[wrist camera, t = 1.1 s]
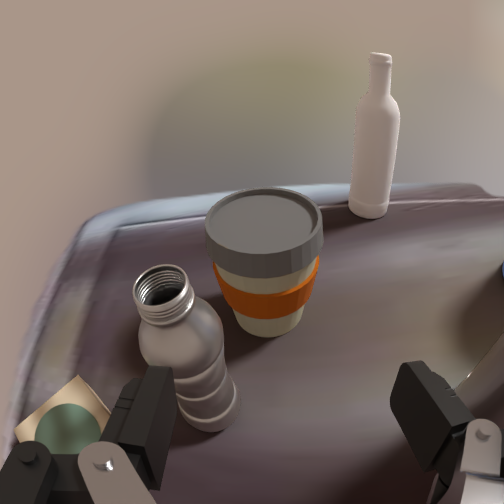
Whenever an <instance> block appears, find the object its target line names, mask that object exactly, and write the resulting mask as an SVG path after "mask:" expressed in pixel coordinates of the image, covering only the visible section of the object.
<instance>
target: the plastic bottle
mask: <svg viewBox="0 0 504 504" xmlns="http://www.w3.org/2000/svg"><path fill="white" fill-rule="evenodd" d="M132 294H133V298H134V301H135V303H136V305H137V307H138V312H139V314H140V316H141V318H142V321H141V324H140V327H139V333H138V337H139V346H140V351H141V354H142V356H143V358H144V359H145V361H146V362H147V363H148V365H149V366H150V365H154V366H165V367H171V368H172V370H173V376H174V384H175V391H176V398H177V401H178V406H179V409H180V411H181V414H182V416H183V418H184V419H185V420H186V421H187V422H188V423H189V424H190V425H192V426H193V427H195V428H197V429H199V430H201V431H205V432H217V431H221V430H223V429H225V428H227V427H228V426H230V425H231V424H232V423H233V422H234V421H235V420H236V418H237V416H238V414H239V411H240V405H241V396H240V392H239V389H238V387H237V386H236V384H235V382H234V381H233V379H232V378H231V377H230V375H229V373H228V371H227V369H226V364H225V358H224V333H223V325H222V322H221V319H220V317H219V316H218V314H217V313H216V311H215V310H214V309H213V308H212V306H211V305H210V304H209V303H208V302H206V301H204V300H203V299H201V298H199V297H197V296H195V294H194V291H193V288H192V286H191V285H190V283H189V280H188V277H187V275H186V273H185V271H184V270H183V269H182V268H180V267H178V266H176V265H171V264H163V265H158V266H154V267H152V268H150V269H148V270H146V271H145V272H143V273H142V274H141V275H140V276H139V277H138V278H137V280H136V281H135V283H134V285H133V289H132Z"/></svg>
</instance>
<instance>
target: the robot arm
mask: <svg viewBox="0 0 504 504" xmlns="http://www.w3.org/2000/svg"><path fill="white" fill-rule="evenodd" d="M390 407H391V410H392V412H393V414H394V416H395V418H396V420H397V421H398V423H399V425H400V427H401V429H402V431H403V433H404V435H405V437H406V439H407V440H408V442H409V444H410V446H411V448H412V450H413V452H414V454H415V456H416V458H417V460H418V462H419V464H420V466H421V468H422V470H423V472H427V471H431V470H434V469H436V470H437V472H438V473H437V474H436V476H435V478H434V481H433V484H432V487H431V490H430V493H429V497H428V500H427V503H426V504H504V332H503V333H502V335H501V336H500V337H499V339H498V340H497V341H496V343H495V344H494V345H493V347H492V348H491V349H490V350H489V352H488V353H487V354H486V355H485V357H484V358H483V359H482V360H481V361H480V363H479V364H478V365H477V366H476V367H475V368H474V370H473V371H472V372H471V373H470V374H469V375H468V376H467V377H466V379H465V380H464V381H463V382H462V383H461V384H460V385H459V386H458V387H457V388H456V389H455V390H453V389H451V387H450V385H449V384H448V383H447V382H446V380H445V379H444V378H442V377H441V376H439V375H438V374H436V373H435V372H431V370H430V369H429V368H428V367H427V365H426V364H425V363H424V362H423V361H414V362H406V363H403V364H402V365H401V366H400V369H399V372H398V375H397V378H396V381H395V384H394V387H393V390H392V392H391V396H390ZM176 415H177V398H176V391H175V384H174V376H173V370H172V368H171V367H165V366H154V365H150V366H149V367H148V369H147V371H146V373H145V376H144V378H143V379H138V378H133V379H132V380H131V381H130V382H129V383H128V384H126V385H125V386H124V387H123V389H122V391H121V394H120V396H119V399H118V400H117V402H116V404H115V408H113V411H112V413H111V415H110V417H109V419H108V421H107V424H106V426H105V428H104V430H103V432H102V435H101V437H100V439H99V441H98V442H95V443H92V444H89V445H87V446H86V447H85V448H83V449H82V451H81V452H80V453H79V454H51V453H50V451H49V449H48V448H47V447H46V446H45V445H44V444H42V443H40V442H38V441H24V442H21V443H19V444H17V445H16V446H15V447H14V448H13V449H12V451H11V452H10V454H9V456H8V458H7V460H6V461H5V463H4V465H3V467H2V469H1V471H0V504H157V503H156V502H155V501H154V499H153V498H152V496H151V495H150V493H149V489H151V490H158V491H160V487H161V482H162V478H163V473H164V468H165V464H166V459H167V455H168V450H169V446H170V441H171V437H172V433H173V428H174V424H175V420H176Z"/></svg>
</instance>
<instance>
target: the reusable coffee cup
mask: <svg viewBox="0 0 504 504" xmlns="http://www.w3.org/2000/svg"><path fill="white" fill-rule="evenodd" d="M205 236H206V248H207V251H208V254H209V256H210V257H211V259H212V260H213V269H214V272H215V275H216V278H217V280H218V283H219V285H220V288H221V290H222V293H223V295H224V298H225V300H226V301H227V303H228V304H229V305H230V306H231V307H232V309H233V311H234V314H235V316H236V319H237V321H238V323H239V325H240V326H241V327H242V328H243V329H244V330H245V331H247V332H248V333H250V334H253V335H255V336H259V337H277V336H280V335H283V334H285V333H287V332H289V331H291V330H292V329H293V328H294V327H295V326H296V325H297V324H298V322H299V321H300V319H301V316H302V312H303V308H304V305H305V303H306V302H307V300H308V299H309V297H310V295H311V292H312V288H313V284H314V281H315V277H316V273H317V269H318V265H319V253H320V251H321V249H322V245H323V224H322V214H321V211H320V209H319V207H318V206H317V205H316V204H315V202H314V201H312V200H311V199H310V198H308V197H307V196H305V195H303V194H301V193H298V192H295V191H292V190H288V189H283V188H274V187H261V188H252V189H247V190H242V191H239V192H236V193H233V194H231V195H229V196H226V197H224V198H223V199H221V200H220V201H218V202H217V203H216V204H215V205H214V206H212V207H211V209H210V210H209V212H208V213H207V216H206V218H205Z"/></svg>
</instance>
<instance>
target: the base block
mask: <svg viewBox="0 0 504 504" xmlns="http://www.w3.org/2000/svg"><path fill="white" fill-rule="evenodd" d="M110 415H111V412H110V411H109V410H108V408H107V407H106V406H105V405H104V403H103V402H102V401H101V400H100V398H99V397H98V396H97V395H96V393H95V392H94V391H93V390H92V389H91V388H90V387H89V386H88V385H87V384H86V383H85V382H84V381H83V379H82V378H81V377H80V376H79V375H77V376H76V377H75V378H74V379H72V380H71V381H70V382H69V383H68V384H66V385H65V386H64V387H63V388H62V389H61V390H59V391H58V392H57V393H56V394H55V395H53V396H52V397H51V398H50V399H49V400H48V401H46V402H45V403H44V404H43V405H42V406H41V407H39V408H38V409H37V410H36V411H35V412H33V413H32V414H31V415H30V416H29V417H28V418H27V419H25V420H24V421H23V422H22V423H21V424H20V425H18V426H17V427H16V428H15V429H14V432H15V434H16V436H17V438H18V440H19V442H20V443H21V442H24V441H38V442H40V443H42V444H44V445H45V446H46V447H47V448H48V449H49V451H50V453H51V454H79V453H80V452H81V451H82V449H83V448H85V447H86V446H87V445H89V444H92V443H95V442H98V441H99V439H100V437H101V435H102V432H103V430H104V428H105V426H106V424H107V421H108V419H109V417H110Z"/></svg>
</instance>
